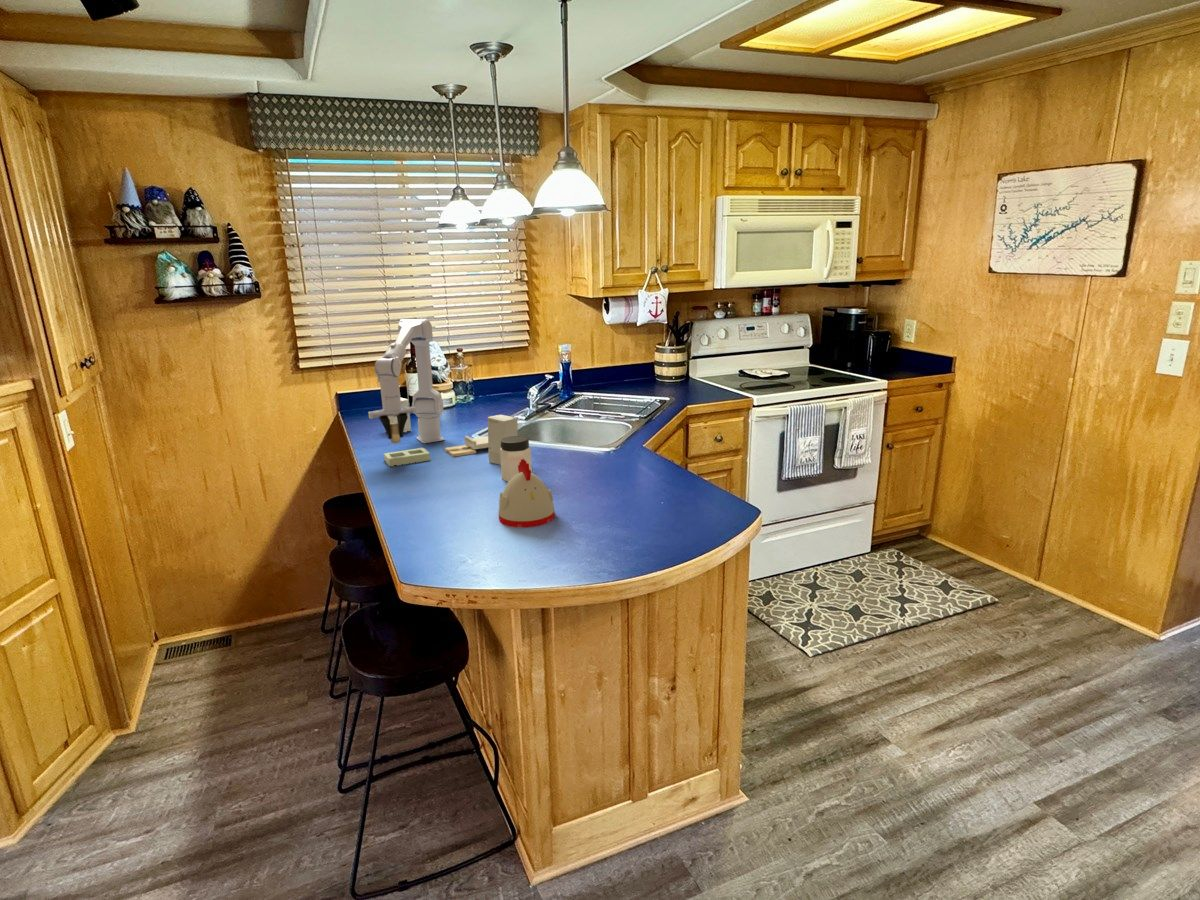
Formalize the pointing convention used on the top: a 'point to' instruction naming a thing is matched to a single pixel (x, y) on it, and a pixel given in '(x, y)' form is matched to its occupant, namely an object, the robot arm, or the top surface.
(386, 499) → the top surface
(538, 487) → the kitchen timer
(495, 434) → the skincare box
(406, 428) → the supplement box
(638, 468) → the top surface
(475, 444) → the lid
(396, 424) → the peg
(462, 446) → the board
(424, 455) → the socket board
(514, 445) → the jar
